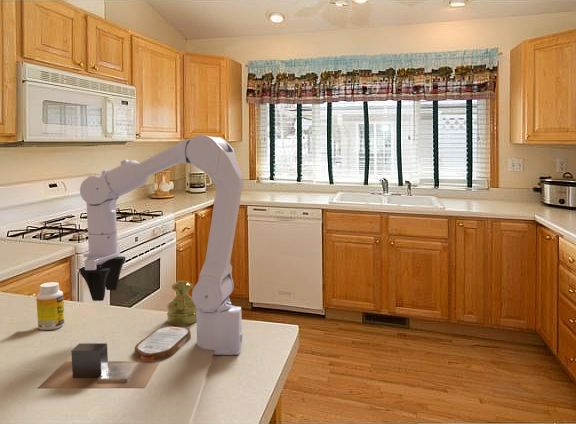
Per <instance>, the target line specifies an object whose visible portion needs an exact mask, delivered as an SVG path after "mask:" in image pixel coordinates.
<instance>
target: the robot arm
mask: <svg viewBox="0 0 576 424" xmlns="http://www.w3.org/2000/svg"><path fill="white" fill-rule="evenodd" d="M119 164H120V165H118V166H116V167H114V168H112V169H110V170H109V169H104V170H102V171H101V174H100V176H99V175H98V176H96V175H90V176H88V177H87V178H86V179H84V180H83V181H82V182H81V184H80V187H79V194H80V197H81V198H82V200H83V201H84V202H85V203H86V219H87V221H86V222H87V238H88V239H87V241H88V243H87V244H88V251H86V252H84V253H83V258H86V259H85V260H84V262H83V263H84V266H82V267H80V268H79V274H80V275H81V277H82V278H83V279H84V281H85V284H86V285H87V288H88V291H89V294H90V297H91V299H92V301H93V302H103V301H104V299H105V296H106V291H117V289H118V284H119V281H120V276H121V275H120V274H121V272H122V268H123V266H124V264H125V262H126V256H121V247H120V246H118V232H117V231H118V230H117V226H118V225H117V201H118V200H119V198H120V197H122V196H124V195H126V194H128V193H131V192H133V191H135V190H137V189H139V188H141V187H143V186H146V184H147V182H148V179H149V177H150V176H151V177H152V176H153V175H155V174H158V173H160V172H162V171H165V170H167V169H170V168H172V167H174V166H177V165H179V164H192V165H193V166H194V167H196V168H197V169H199V170H200V171H202V172H204V173H205V174H206V175H207V176H208V177H209V178H210V179H211V181H212V182H213V183H214V185H215V186H216V189H215V195H214V201H213V202H214V203H213V209H212V215H211V216H212V217H211V221H210V227H209V228H210V229H209V234H208V240H207V241H208V242H207V249H206V255H205V259H204V260H205V261H204V263H203V265H202V268H201V269H200V270H201V271H200V272H199V275H198V277H199V278H198V281H197V283H196V284H195V286H194V287H192V292H191V297H192V300H193V302H194V304H195V305H196V315H197V321H196V345H197V346H198V347H199V348H200V349H204V350H209V351H210V350H212V351H213V353H212V355H213V356H214V355H215V356H222V355H223V356H232V355H234V356H236V355H237V356H238V355H239V354H240V350H241V346H242V342H243V330H242V327H243V325H242V321H243V319H242V317H243V316H242V313H243V312H242V307H241V306H235V305H232V302H231V298H230V295H232V293H233V292H234V291H233V290H234V287H235V285H234V284H235V283H234V280H233V277H232V276H233V275H232V272H233V266H232V264H231V259H232V253H233V247H234V241H235V234H236V229H237V222H238V217H239V210H240V203H241V198H242V197H241V196H242V194H243V193H242V192H243V186H244V177H243V173H242V171H241V169H240V166H239V164H238V161H237V158H236V153H235V149H234V148H233V147H232V146H231V145H230V144H229V143H228V142H227V140H225V139H224V138H222V137H219V136H209V135H206V134H198V135H195V136H194V137H192V138H187V139H183V140H181V141H179V142H177V143H176V144H173V145H172V146H170V147H168V148H165V149H164V150H162V151H161V152H158V153H157V154H155V155H153V156H150V157H149V158H147V159H144V160H143V161H141V162H139V161H137V160H135V159H130V160H129V159H123V160H121V161H120V163H119Z"/></svg>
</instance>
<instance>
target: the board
mask: <svg viewBox="0 0 576 424" xmlns="http://www.w3.org/2000/svg"><path fill="white" fill-rule="evenodd" d="M110 363H138V367H137V368H136V370H135V371H134V373H133V374H132V376H131V377H130V379H129V380H128V382H98V378H73V372H72V360H70V361H64V362H63V363H62V364H61V365H60V366H59V367H57V369H56V370H55V371H54V372H52V373H51V374H50V375H49V376H48V377H47V378H46V379H45V380H44V381H43V382H42V383H41V384H40V385H39V386H38V387H37V389H145V388H146V387H147V385H148V383H149V381H151V379H152V376H153V375H154V374H155V372H156V369H157V368H158V366H159V365H160V363H161V361H159V360H153V361H147V360H142V361H139V360H138V361H135V360H134V361H133V360H131V361H129V360H127V361H126V360H125V361H124V360H123V361H120V360H117V361H116V360H115V361H114V360H112V361H111V360H110V361H108V366H109V365H110Z"/></svg>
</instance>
